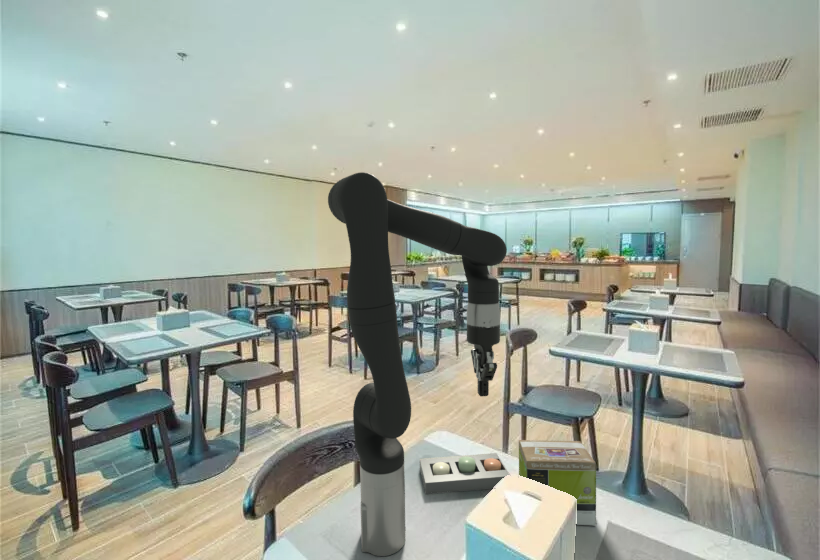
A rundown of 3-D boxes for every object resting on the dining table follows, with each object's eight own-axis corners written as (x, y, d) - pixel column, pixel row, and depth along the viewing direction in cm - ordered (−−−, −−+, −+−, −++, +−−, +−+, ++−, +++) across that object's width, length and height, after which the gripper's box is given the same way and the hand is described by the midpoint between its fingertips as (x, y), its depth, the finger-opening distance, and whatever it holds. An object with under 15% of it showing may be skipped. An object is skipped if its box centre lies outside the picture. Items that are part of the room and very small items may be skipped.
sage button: (460, 475, 100) (460, 466, 99) (457, 466, 104) (456, 457, 104) (477, 474, 100) (477, 465, 100) (472, 465, 104) (472, 455, 104)
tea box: (580, 497, 93) (582, 439, 92) (596, 527, 83) (598, 463, 82) (517, 494, 95) (518, 437, 94) (525, 523, 85) (526, 460, 84)
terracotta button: (486, 477, 100) (487, 468, 100) (482, 467, 105) (482, 458, 105) (503, 476, 101) (503, 466, 101) (497, 466, 105) (497, 457, 105)
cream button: (434, 481, 99) (434, 472, 99) (431, 472, 103) (431, 462, 103) (451, 480, 99) (451, 471, 99) (447, 470, 104) (447, 461, 104)
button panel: (425, 494, 95) (425, 482, 95) (419, 469, 106) (419, 458, 106) (510, 487, 98) (510, 475, 98) (496, 463, 109) (496, 453, 108)
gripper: (460, 317, 94) (460, 385, 95) (475, 328, 81) (475, 407, 82) (489, 316, 95) (489, 384, 96) (509, 327, 81) (508, 405, 83)
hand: (483, 395), depth 89 cm, fingers closed
